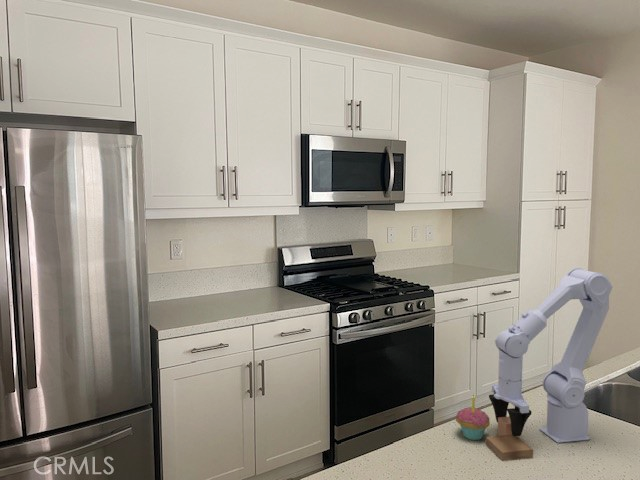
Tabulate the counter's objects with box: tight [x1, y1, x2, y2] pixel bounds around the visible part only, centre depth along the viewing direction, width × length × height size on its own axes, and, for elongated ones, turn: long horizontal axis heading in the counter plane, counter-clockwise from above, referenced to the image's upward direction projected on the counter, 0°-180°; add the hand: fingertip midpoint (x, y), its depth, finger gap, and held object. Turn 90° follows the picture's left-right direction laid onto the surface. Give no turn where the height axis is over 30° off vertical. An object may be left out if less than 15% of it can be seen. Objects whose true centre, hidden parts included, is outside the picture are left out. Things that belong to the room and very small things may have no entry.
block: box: [497, 416, 521, 439], centre depth 133 cm, size 4×4×5 cm
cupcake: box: [455, 394, 491, 441], centre depth 134 cm, size 9×8×12 cm
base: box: [485, 435, 534, 461], centre depth 126 cm, size 8×8×2 cm
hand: (508, 428), depth 133 cm, fingers open, 7 cm apart
